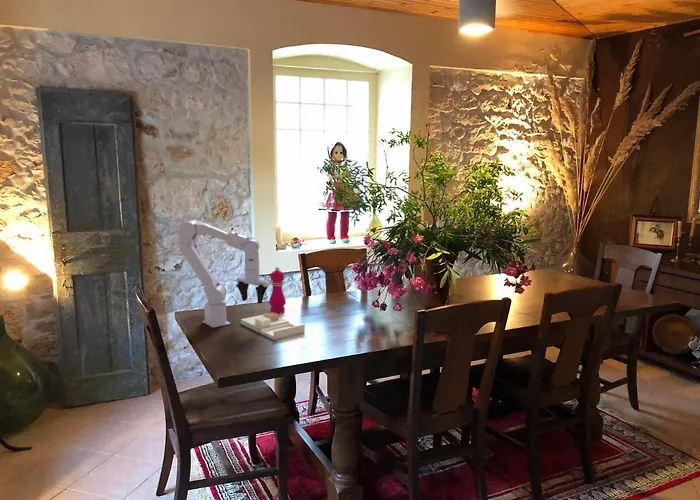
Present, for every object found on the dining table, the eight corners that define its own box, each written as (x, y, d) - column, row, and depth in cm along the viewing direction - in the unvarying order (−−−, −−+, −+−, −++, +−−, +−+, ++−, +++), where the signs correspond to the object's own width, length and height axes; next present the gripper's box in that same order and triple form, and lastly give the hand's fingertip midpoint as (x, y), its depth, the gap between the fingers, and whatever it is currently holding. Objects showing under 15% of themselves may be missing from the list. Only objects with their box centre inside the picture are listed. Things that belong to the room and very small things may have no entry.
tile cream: (255, 323, 224) (255, 318, 224) (264, 321, 227) (264, 316, 227) (261, 326, 221) (261, 321, 221) (270, 324, 224) (270, 319, 223)
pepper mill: (265, 312, 246) (265, 267, 243) (275, 308, 253) (275, 264, 249) (279, 314, 243) (279, 269, 240) (288, 310, 249) (288, 266, 246)
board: (241, 323, 230) (241, 319, 229) (270, 317, 239) (270, 313, 238) (258, 332, 219) (258, 327, 219) (288, 326, 228) (288, 321, 228)
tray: (259, 333, 219) (259, 324, 218) (289, 326, 228) (289, 318, 227) (274, 340, 211) (274, 331, 210) (304, 333, 220) (304, 324, 219)
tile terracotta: (263, 318, 231) (263, 313, 230) (272, 316, 234) (272, 312, 233) (269, 321, 227) (269, 316, 227) (278, 319, 230) (278, 314, 230)
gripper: (231, 268, 226) (231, 301, 228) (260, 273, 219) (261, 306, 222) (242, 265, 232) (242, 297, 234) (271, 269, 225) (271, 302, 228)
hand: (252, 301), depth 229 cm, fingers open, 7 cm apart
